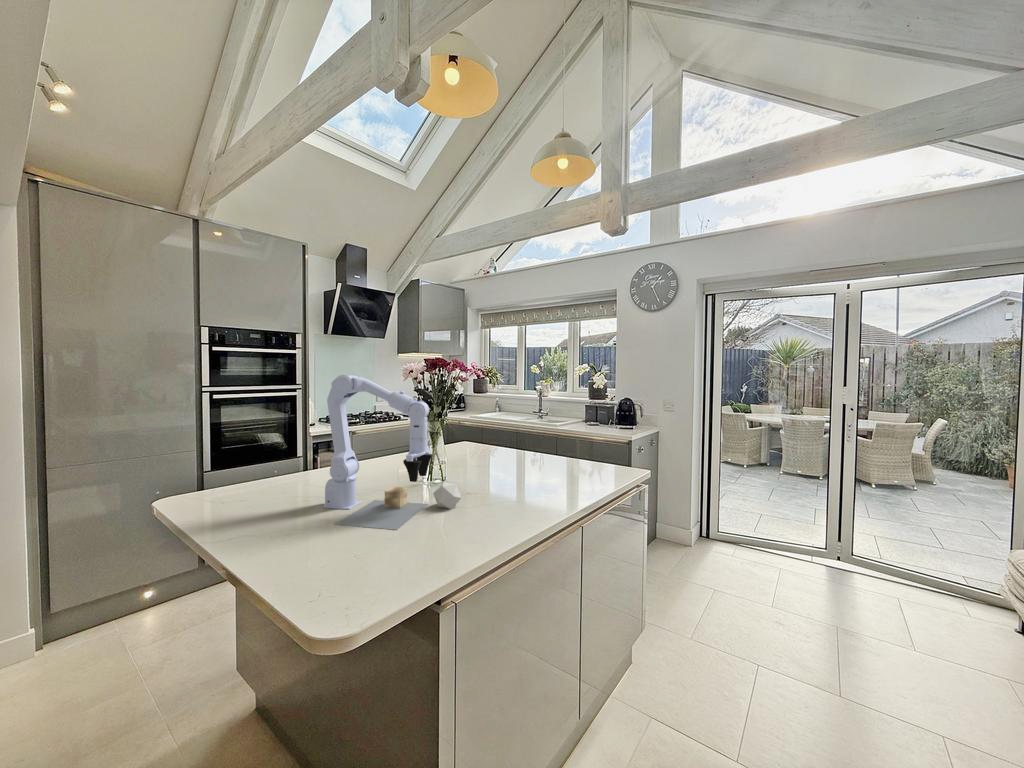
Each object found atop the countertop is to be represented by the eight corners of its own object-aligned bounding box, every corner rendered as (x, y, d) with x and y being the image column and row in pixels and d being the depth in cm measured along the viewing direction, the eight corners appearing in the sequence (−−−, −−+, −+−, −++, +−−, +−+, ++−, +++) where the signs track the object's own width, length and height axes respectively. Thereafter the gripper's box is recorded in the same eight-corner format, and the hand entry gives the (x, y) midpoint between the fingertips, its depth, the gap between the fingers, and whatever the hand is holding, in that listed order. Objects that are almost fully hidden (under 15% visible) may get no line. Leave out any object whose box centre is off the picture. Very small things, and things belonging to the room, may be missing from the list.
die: (465, 507, 144) (457, 481, 149) (460, 501, 137) (452, 474, 141) (442, 516, 144) (435, 490, 148) (436, 511, 136) (428, 483, 140)
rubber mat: (333, 525, 125) (333, 524, 125) (374, 500, 148) (374, 500, 148) (397, 530, 121) (397, 529, 121) (428, 504, 145) (428, 503, 145)
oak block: (384, 507, 140) (384, 491, 140) (392, 502, 146) (392, 486, 146) (400, 508, 139) (400, 492, 139) (407, 503, 145) (407, 487, 145)
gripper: (421, 442, 133) (420, 485, 133) (437, 435, 147) (437, 474, 148) (400, 441, 134) (399, 483, 135) (418, 434, 148) (418, 472, 149)
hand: (418, 478), depth 141 cm, fingers open, 7 cm apart
